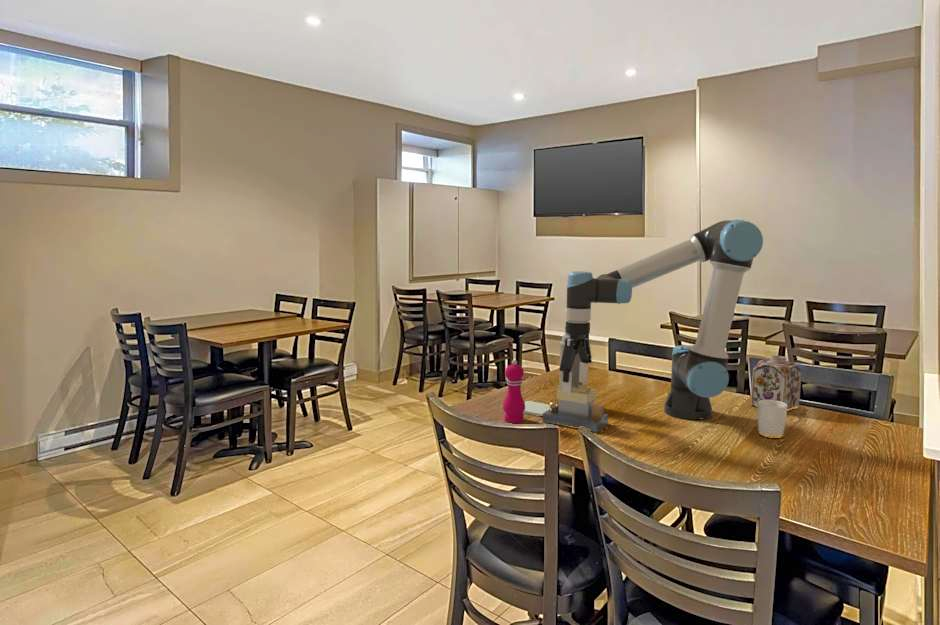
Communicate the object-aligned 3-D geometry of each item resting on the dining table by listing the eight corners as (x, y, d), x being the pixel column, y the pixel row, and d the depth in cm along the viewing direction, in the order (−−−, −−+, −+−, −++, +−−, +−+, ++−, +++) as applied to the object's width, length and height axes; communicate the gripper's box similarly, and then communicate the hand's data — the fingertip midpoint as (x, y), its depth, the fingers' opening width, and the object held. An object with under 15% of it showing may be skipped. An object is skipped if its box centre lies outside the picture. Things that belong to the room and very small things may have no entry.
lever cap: (594, 398, 188) (595, 386, 188) (586, 404, 183) (587, 391, 182) (565, 393, 194) (566, 381, 193) (556, 399, 188) (557, 386, 187)
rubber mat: (555, 408, 204) (556, 405, 204) (542, 417, 195) (542, 414, 195) (527, 403, 210) (527, 400, 210) (512, 411, 201) (512, 408, 201)
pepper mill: (499, 417, 194) (499, 358, 191) (519, 415, 197) (519, 356, 194) (508, 424, 188) (508, 363, 185) (528, 422, 190) (529, 361, 187)
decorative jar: (782, 414, 198) (787, 362, 195) (749, 406, 207) (752, 355, 204) (799, 408, 205) (804, 357, 202) (766, 400, 214) (770, 351, 211)
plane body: (607, 423, 189) (608, 399, 188) (596, 432, 180) (597, 407, 179) (555, 413, 198) (556, 390, 197) (543, 422, 190) (543, 398, 189)
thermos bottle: (558, 401, 213) (559, 324, 208) (580, 401, 212) (582, 324, 208) (559, 407, 205) (561, 328, 201) (582, 408, 204) (584, 328, 200)
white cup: (751, 435, 178) (754, 403, 177) (761, 429, 184) (763, 398, 182) (779, 442, 173) (782, 409, 171) (788, 435, 178) (791, 403, 177)
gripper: (581, 315, 197) (579, 377, 200) (550, 325, 176) (547, 394, 179) (603, 317, 193) (600, 380, 196) (573, 327, 172) (570, 398, 175)
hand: (575, 387), depth 188 cm, fingers open, 13 cm apart
